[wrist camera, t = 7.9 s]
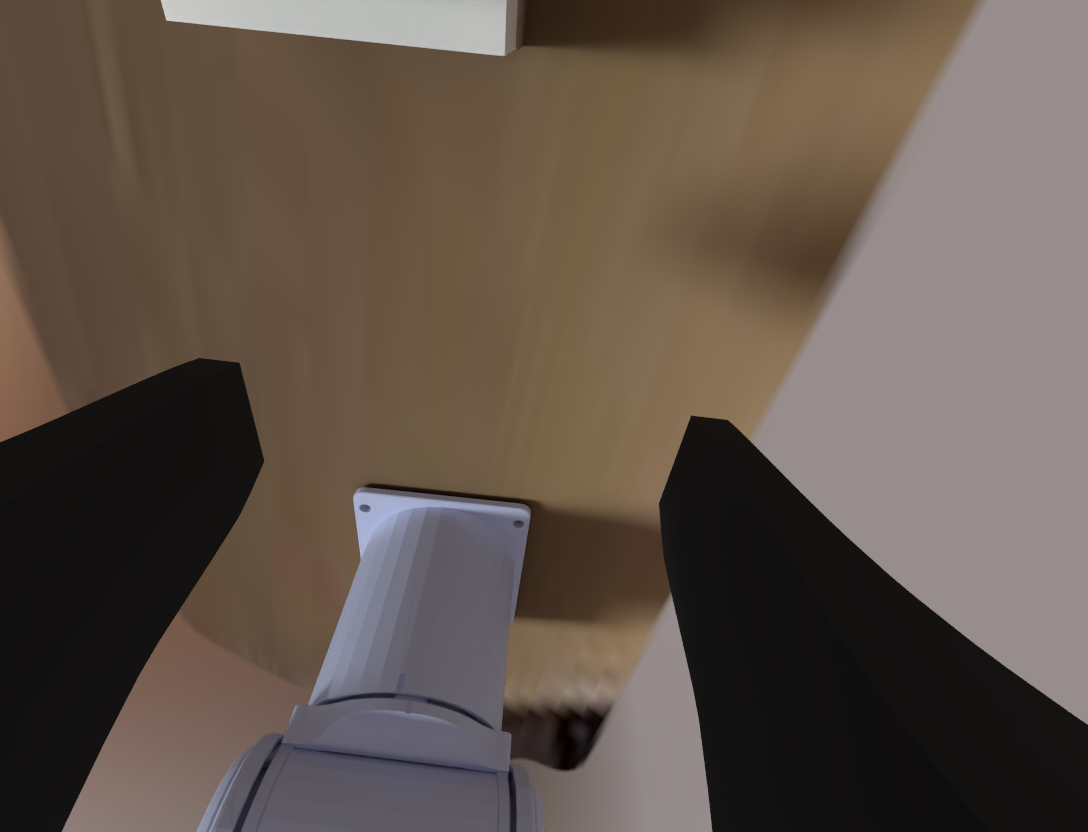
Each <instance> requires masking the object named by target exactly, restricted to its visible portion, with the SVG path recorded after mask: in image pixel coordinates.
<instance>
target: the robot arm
mask: <svg viewBox="0 0 1088 832" xmlns="http://www.w3.org/2000/svg"><path fill="white" fill-rule="evenodd" d="M263 463H264V458H263V454H262V450H261V446H260V442H259V438H258V434H257V430H256V427H255V423H254V419H253V415H252V411H251V407H250V403H249V399H248V395H247V391H246V387H245V383H244V379H243V375H242V371H241V367H240V363H236V362H228V361H219V360H211V359H202V358H198V359H195V360H193V361H190V362H187V363H184V364H181V365H179V366H176V367H174V368H171V369H169V370H166V371H164V372H161V373H159V374H157V375H154V376H152V377H150V378H147V379H145V380H143V381H140V382H138V383H136V384H134V385H131V386H129V387H127V388H125V389H122V390H120V391H118V392H116V393H113V394H111V395H109V396H107V397H104V398H102V399H100V400H98V401H95V402H93V403H91V404H89V405H86V406H84V407H82V408H80V409H77V410H75V411H73V412H70V413H68V414H66V415H64V416H61V417H59V418H57V419H55V420H53V421H50V422H48V423H46V424H43V425H41V426H39V427H37V428H34V429H32V430H29V431H27V432H24V433H22V434H19V435H17V436H15V437H12V438H10V439H7V440H5V441H2V442H0V832H62V830H63V827H64V825H65V823H66V821H67V819H68V817H69V815H70V813H71V811H72V808H73V806H74V804H75V802H76V800H77V798H78V796H79V794H80V792H81V790H82V788H83V786H84V784H85V781H86V779H87V777H88V775H89V773H90V771H91V769H92V767H93V765H94V762H95V761H96V759H97V757H98V754H99V752H100V750H101V748H102V746H103V744H104V742H105V740H106V738H107V736H108V734H109V732H110V730H111V729H112V727H113V725H114V723H115V720H116V719H117V717H118V715H119V713H120V711H121V709H122V707H123V705H124V703H125V701H126V699H127V697H128V695H129V693H130V692H131V690H132V688H133V686H134V684H135V682H136V680H137V678H138V676H139V674H140V672H141V671H142V669H143V667H144V666H145V664H146V662H147V661H148V659H149V657H150V655H151V654H152V652H153V650H154V649H155V647H156V645H157V644H158V642H159V640H160V639H161V637H162V636H163V634H164V633H165V631H166V629H167V628H168V627H169V625H170V623H171V622H172V620H173V619H174V617H175V616H176V614H177V613H178V611H179V610H180V608H181V606H182V605H183V603H184V602H185V600H186V599H187V597H188V596H189V594H190V593H191V591H192V589H193V588H194V586H195V585H196V583H197V582H198V580H199V579H200V577H201V576H202V574H203V572H204V571H205V569H206V568H207V566H208V565H209V563H210V562H211V560H212V559H213V557H214V555H215V554H216V552H217V551H218V549H219V547H220V546H221V544H222V543H223V541H224V540H225V538H226V536H227V535H228V533H229V532H230V530H231V529H232V527H233V525H234V524H235V522H236V520H237V519H238V517H239V515H240V514H241V511H242V509H243V507H244V505H245V503H246V501H247V499H248V497H249V495H250V493H251V491H252V488H253V486H254V484H255V481H256V479H257V477H258V474H259V472H260V470H261V467H262V465H263ZM353 500H354V508H355V516H356V524H357V532H358V540H359V548H360V556H361V562H360V564H359V567H358V570H357V573H356V575H355V578H354V581H353V584H352V586H351V589H350V592H349V595H348V597H347V600H346V603H345V605H344V608H343V611H342V614H341V616H340V619H339V622H338V625H337V627H336V630H335V633H334V636H333V638H332V641H331V644H330V646H329V649H328V652H327V655H326V657H325V660H324V663H323V666H322V668H321V671H320V674H319V676H318V679H317V682H316V685H315V687H314V690H313V693H312V696H311V699H310V702H309V704H308V705H304V704H298V705H296V706H295V709H294V711H293V714H292V716H291V719H290V721H289V724H288V727H287V729H286V732H285V734H277V733H269V734H265V735H264V736H263V737H262V738H260V739H259V740H258V741H257V742H256V743H255V744H254V745H253V746H251V747H250V748H249V749H247V750H246V751H244V752H243V753H242V754H241V755H240V756H239V757H238V758H237V759H236V760H235V762H234V763H233V764H232V766H231V767H230V768H229V770H228V771H227V773H226V775H225V776H224V778H223V780H222V782H221V783H220V785H219V787H218V788H217V790H216V792H215V794H214V796H213V798H212V800H211V802H210V804H209V806H208V808H207V810H206V812H205V814H204V817H203V819H202V821H201V823H200V825H199V828H198V830H197V832H544V817H543V809H542V803H541V798H540V795H539V792H538V790H537V788H536V787H535V785H534V784H533V782H532V780H531V778H530V775H529V773H528V771H527V770H526V768H525V767H523V766H521V765H517V764H510V763H509V762H510V747H511V734H510V733H508V732H502V731H501V726H502V714H503V702H504V689H505V677H506V665H507V653H508V640H509V628H510V625H511V624H512V623H513V621H514V615H515V609H516V603H517V597H518V591H519V584H520V578H521V572H522V566H523V560H524V554H525V548H526V541H527V535H528V529H529V523H530V516H531V511H530V508H529V507H528V506H526V505H524V504H520V503H510V502H501V501H491V500H482V499H472V498H463V497H453V496H444V495H434V494H425V493H415V492H406V491H396V490H387V489H377V488H368V487H361V488H359V489H357V490H356V492H355V494H354V498H353ZM364 504H365V505H364ZM366 505H368V506H366ZM659 508H660V521H661V534H662V544H663V553H664V560H665V565H666V570H667V575H668V579H669V584H670V588H671V593H672V597H673V602H674V606H675V611H676V615H677V619H678V624H679V628H680V633H681V637H682V641H683V646H684V650H685V655H686V659H687V663H688V668H689V672H690V677H691V681H692V685H693V690H694V696H695V701H696V706H697V711H698V717H699V723H700V731H701V739H702V746H703V753H704V762H705V769H706V778H707V785H708V794H709V802H710V813H711V821H712V831H713V832H1088V725H1087V724H1086V723H1084V722H1083V721H1081V720H1080V719H1078V718H1077V717H1075V716H1074V715H1073V714H1071V713H1070V712H1068V711H1067V710H1066V709H1064V708H1063V707H1061V706H1060V705H1058V704H1057V703H1056V702H1054V701H1053V700H1051V699H1050V698H1049V697H1047V696H1046V695H1044V694H1043V693H1041V692H1040V691H1039V690H1037V689H1036V688H1035V687H1033V686H1031V685H1030V684H1029V683H1027V682H1026V681H1024V680H1023V679H1022V678H1020V677H1019V676H1018V675H1016V674H1015V673H1013V672H1012V671H1011V670H1009V669H1008V668H1006V667H1005V666H1004V665H1002V664H1001V663H1000V662H998V661H997V660H995V659H994V658H993V657H992V656H990V655H989V654H987V653H986V652H985V651H984V650H982V649H981V648H979V647H978V646H977V645H975V644H974V643H973V642H971V641H970V640H969V639H968V638H966V637H965V636H964V635H963V634H961V633H960V632H959V631H957V630H956V629H955V628H954V627H952V626H951V625H950V624H949V623H947V622H946V621H945V620H944V619H942V618H941V617H940V616H939V615H937V614H936V613H935V612H933V611H932V610H931V609H930V608H929V607H927V606H926V605H925V604H924V603H922V602H921V601H920V600H918V599H917V598H916V597H915V596H914V595H912V594H911V593H910V592H909V591H908V590H906V589H905V588H904V587H903V586H902V585H901V584H899V583H898V582H897V581H896V580H895V579H893V578H892V577H891V576H890V575H889V574H888V573H886V572H885V571H884V570H883V569H882V568H881V567H880V566H879V565H878V564H876V563H875V562H874V561H873V560H872V559H871V558H870V557H868V556H867V555H866V554H865V553H864V552H863V551H862V550H861V549H860V548H858V547H857V546H856V545H855V544H854V543H853V542H852V541H851V540H850V539H849V538H847V537H846V536H845V535H844V534H843V533H842V532H841V531H840V530H839V529H838V528H837V527H836V526H835V525H834V524H833V523H832V522H830V521H829V520H828V519H827V518H826V517H825V516H824V515H823V514H822V513H821V512H820V511H819V510H818V509H817V508H816V507H815V506H814V505H813V504H812V503H811V502H810V501H809V500H808V499H807V498H806V497H805V496H804V495H803V494H802V493H800V491H799V490H798V489H797V488H796V487H795V486H794V485H793V484H792V483H791V482H790V481H789V480H788V479H787V478H786V477H785V476H784V475H783V474H782V473H781V472H780V471H779V470H778V469H777V468H776V467H775V466H774V465H773V464H772V463H771V462H770V461H769V460H768V459H767V458H766V457H765V456H764V455H763V454H762V453H761V452H760V451H759V450H758V449H757V448H756V447H755V446H754V445H753V444H752V443H751V442H750V441H749V440H748V439H747V438H746V437H745V436H744V435H743V434H742V433H741V432H740V431H739V430H738V429H737V428H736V427H735V426H734V425H733V424H732V423H730V422H729V421H728V420H723V419H714V418H706V417H697V416H691V418H690V421H689V423H688V426H687V429H686V431H685V434H684V437H683V440H682V442H681V445H680V448H679V451H678V453H677V456H676V459H675V461H674V464H673V467H672V470H671V472H670V475H669V478H668V481H667V483H666V486H665V489H664V491H663V494H662V497H661V500H660V502H659ZM517 520H520V522H518V521H517Z"/></svg>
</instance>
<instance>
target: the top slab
mask: <svg viewBox="0 0 1088 832" xmlns="http://www.w3.org/2000/svg"><path fill="white" fill-rule="evenodd" d="M161 2H162V6H163V9H164V13H165V17H166V20H167V21H177V22H186V23H196V24H205V25H214V26H224V27H233V28H243V29H252V30H262V31H271V32H281V33H290V34H299V35H309V36H318V37H328V38H337V39H347V40H356V41H366V42H375V43H384V44H394V45H403V46H413V47H422V48H432V49H441V50H451V51H460V52H469V53H479V54H488V55H498V56H506V55H507V54H509V53H510V52H511V51H513V50H514V49H516V26H517V4H518V0H161Z"/></svg>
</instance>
